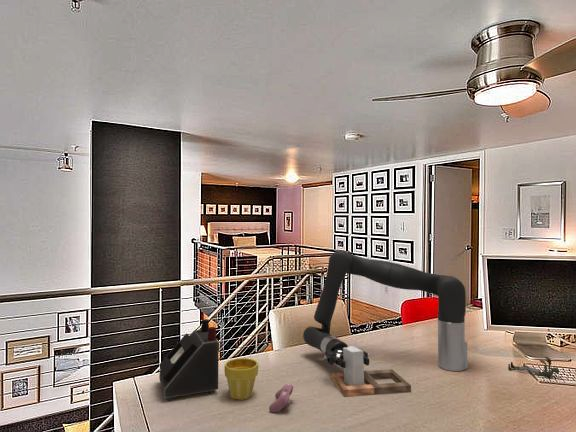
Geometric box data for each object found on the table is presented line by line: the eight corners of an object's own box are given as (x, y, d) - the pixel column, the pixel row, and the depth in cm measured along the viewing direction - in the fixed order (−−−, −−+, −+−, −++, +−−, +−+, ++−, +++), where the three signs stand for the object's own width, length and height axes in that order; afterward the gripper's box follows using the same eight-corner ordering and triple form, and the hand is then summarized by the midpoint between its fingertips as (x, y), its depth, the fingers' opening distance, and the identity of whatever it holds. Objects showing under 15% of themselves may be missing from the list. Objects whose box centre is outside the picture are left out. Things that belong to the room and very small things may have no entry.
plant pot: (256, 402, 116) (256, 369, 116) (221, 402, 116) (221, 369, 116) (259, 388, 126) (259, 357, 126) (227, 388, 126) (227, 357, 126)
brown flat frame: (392, 375, 137) (392, 369, 137) (411, 391, 123) (411, 385, 123) (331, 378, 134) (331, 373, 134) (343, 396, 120) (343, 390, 120)
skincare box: (364, 388, 126) (364, 350, 126) (353, 391, 124) (353, 352, 124) (354, 381, 131) (354, 345, 132) (342, 383, 130) (342, 346, 130)
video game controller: (281, 419, 109) (292, 398, 108) (267, 411, 109) (278, 389, 109) (287, 404, 118) (298, 383, 118) (274, 396, 119) (284, 376, 119)
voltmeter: (158, 383, 130) (159, 322, 131) (207, 375, 137) (208, 318, 137) (163, 403, 115) (164, 335, 116) (218, 393, 122) (218, 329, 122)
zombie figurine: (511, 349, 146) (560, 358, 136) (511, 367, 145) (559, 378, 136) (507, 352, 142) (558, 362, 132) (507, 371, 141) (558, 382, 132)
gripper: (316, 340, 139) (336, 354, 124) (351, 336, 144) (375, 349, 129) (316, 361, 139) (336, 378, 124) (352, 357, 144) (375, 372, 128)
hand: (356, 363), depth 126 cm, fingers open, 8 cm apart
